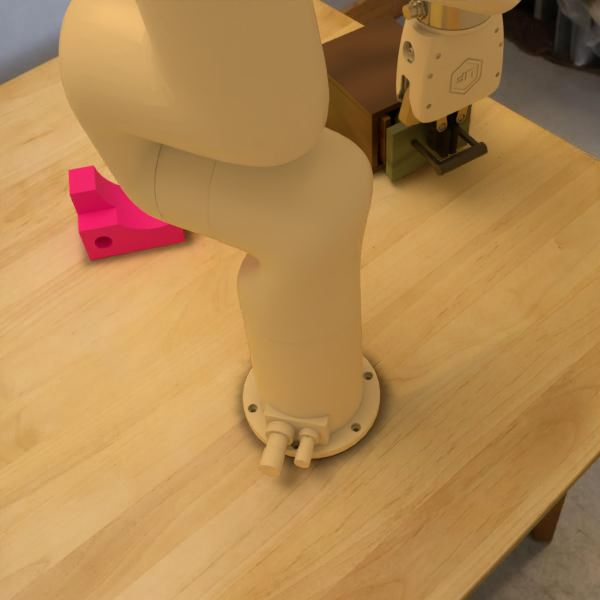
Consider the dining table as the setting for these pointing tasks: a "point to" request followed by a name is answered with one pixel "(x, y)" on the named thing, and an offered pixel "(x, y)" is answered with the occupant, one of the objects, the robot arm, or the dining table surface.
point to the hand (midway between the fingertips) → (441, 148)
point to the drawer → (420, 147)
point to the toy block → (114, 218)
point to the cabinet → (363, 83)
